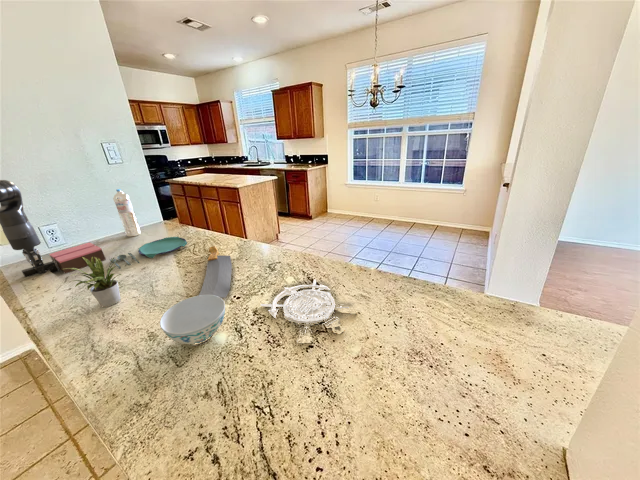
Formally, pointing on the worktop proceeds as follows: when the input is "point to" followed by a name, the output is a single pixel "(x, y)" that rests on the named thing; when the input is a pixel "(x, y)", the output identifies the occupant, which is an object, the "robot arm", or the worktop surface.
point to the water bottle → (126, 214)
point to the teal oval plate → (155, 248)
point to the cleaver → (217, 275)
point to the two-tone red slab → (77, 256)
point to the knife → (48, 266)
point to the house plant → (101, 283)
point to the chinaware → (193, 319)
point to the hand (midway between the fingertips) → (42, 274)
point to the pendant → (305, 304)
